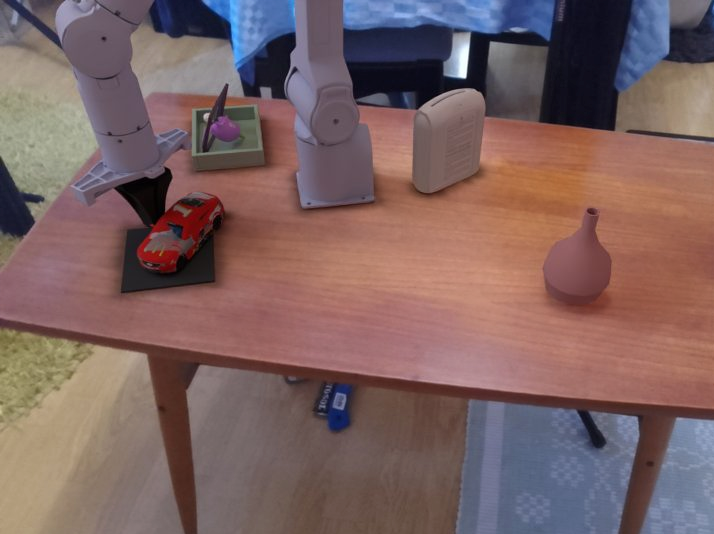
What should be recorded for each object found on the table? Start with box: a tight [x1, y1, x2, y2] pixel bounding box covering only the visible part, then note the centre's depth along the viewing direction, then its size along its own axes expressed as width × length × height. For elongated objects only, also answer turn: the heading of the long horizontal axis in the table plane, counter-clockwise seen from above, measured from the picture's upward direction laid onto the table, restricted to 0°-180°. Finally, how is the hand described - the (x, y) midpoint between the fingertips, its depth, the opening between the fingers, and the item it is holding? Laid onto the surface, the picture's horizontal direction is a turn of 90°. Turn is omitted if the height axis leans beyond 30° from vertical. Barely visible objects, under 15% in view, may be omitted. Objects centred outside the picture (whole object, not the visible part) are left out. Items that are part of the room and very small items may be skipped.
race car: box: [137, 191, 226, 273], centre depth 80 cm, size 13×5×4 cm, turn 161°
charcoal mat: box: [120, 226, 215, 294], centre depth 80 cm, size 10×11×1 cm
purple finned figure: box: [202, 82, 245, 153], centre depth 94 cm, size 7×5×9 cm
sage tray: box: [191, 103, 266, 172], centre depth 96 cm, size 9×12×2 cm
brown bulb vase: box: [542, 206, 613, 307], centre depth 75 cm, size 8×8×12 cm
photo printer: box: [411, 87, 487, 194], centre depth 89 cm, size 10×4×12 cm, turn 131°
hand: (154, 223), depth 82 cm, fingers closed
